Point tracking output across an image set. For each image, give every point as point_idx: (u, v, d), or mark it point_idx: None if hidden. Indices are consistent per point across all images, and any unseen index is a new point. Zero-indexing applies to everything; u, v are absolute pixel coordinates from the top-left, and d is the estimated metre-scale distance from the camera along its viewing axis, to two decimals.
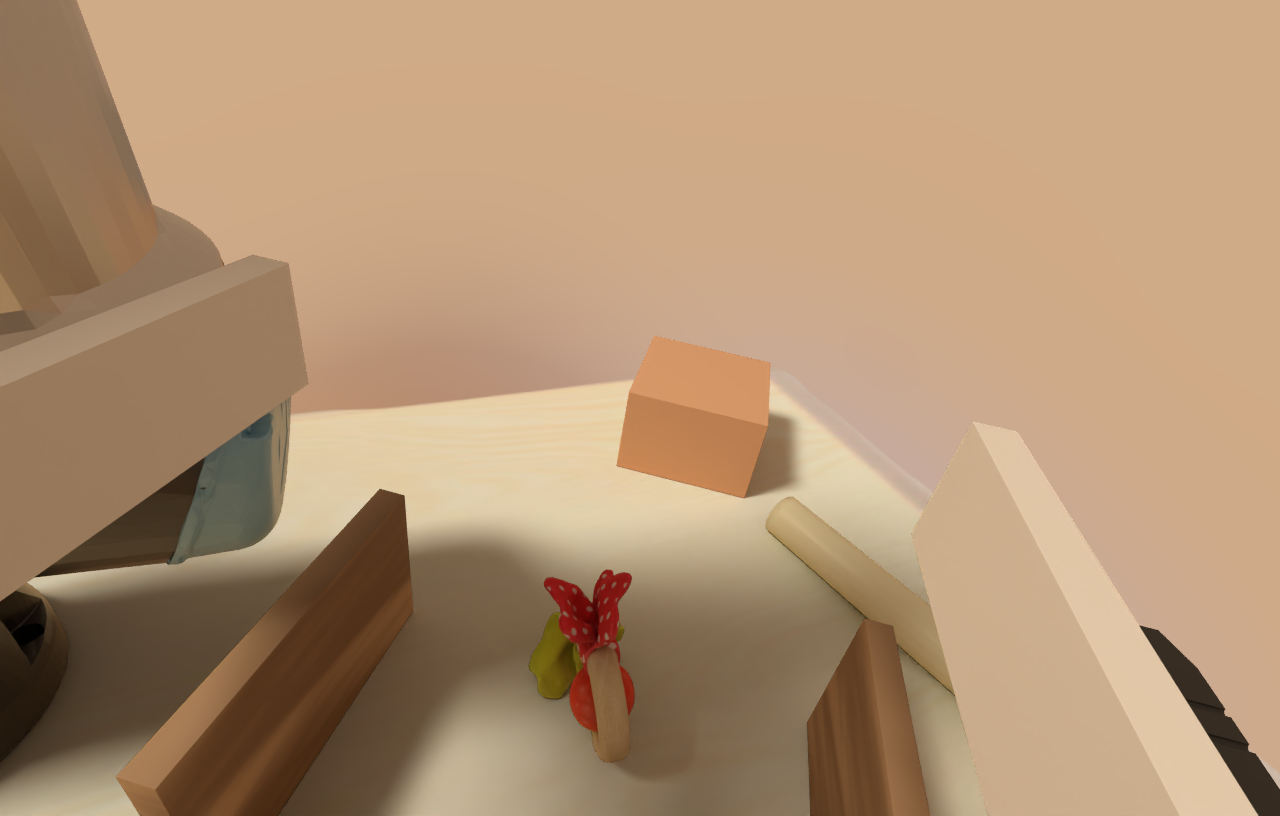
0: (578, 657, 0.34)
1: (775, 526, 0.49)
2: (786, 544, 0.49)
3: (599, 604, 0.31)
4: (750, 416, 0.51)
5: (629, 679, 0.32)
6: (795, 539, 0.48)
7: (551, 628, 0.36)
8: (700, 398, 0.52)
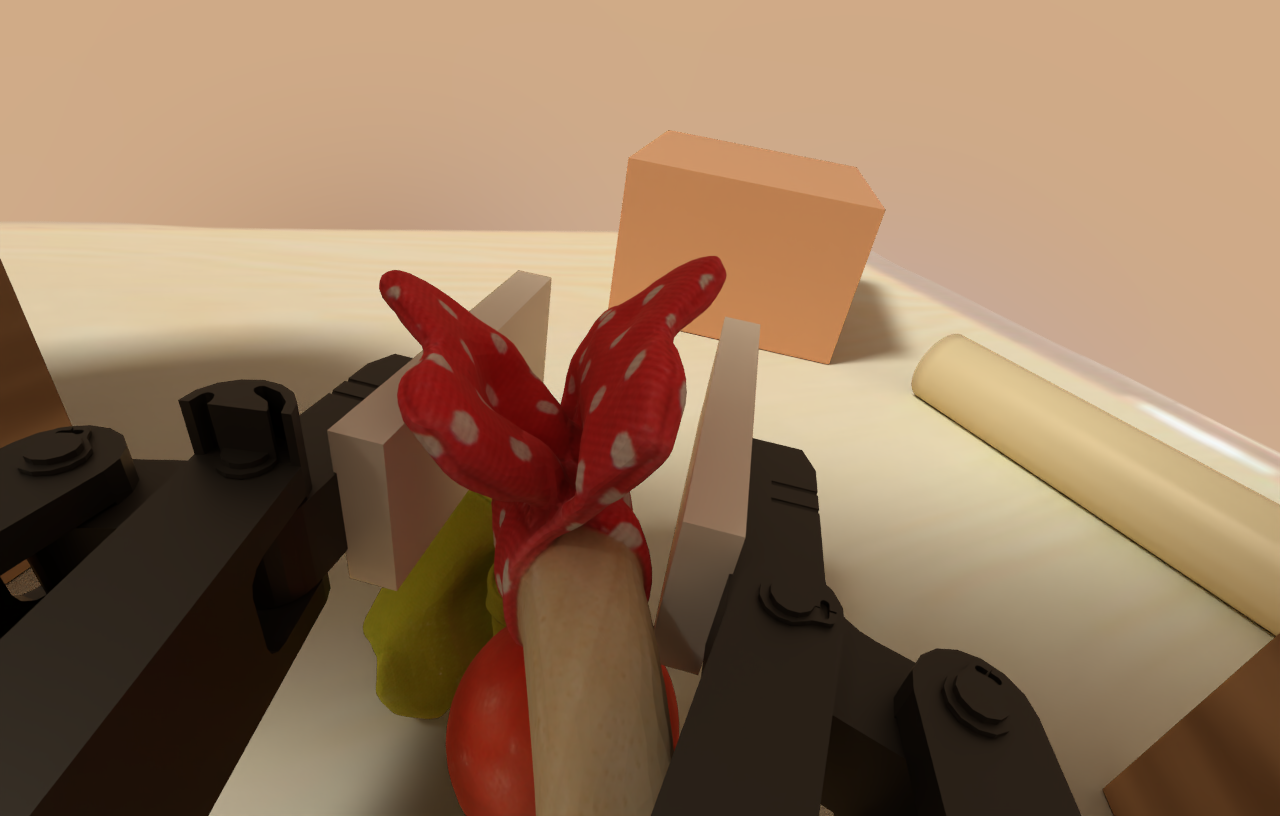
0: (499, 599, 0.11)
1: (932, 377, 0.28)
2: (951, 409, 0.27)
3: (589, 367, 0.08)
4: (849, 199, 0.28)
5: (666, 675, 0.09)
6: (973, 394, 0.26)
7: None
8: (755, 176, 0.29)
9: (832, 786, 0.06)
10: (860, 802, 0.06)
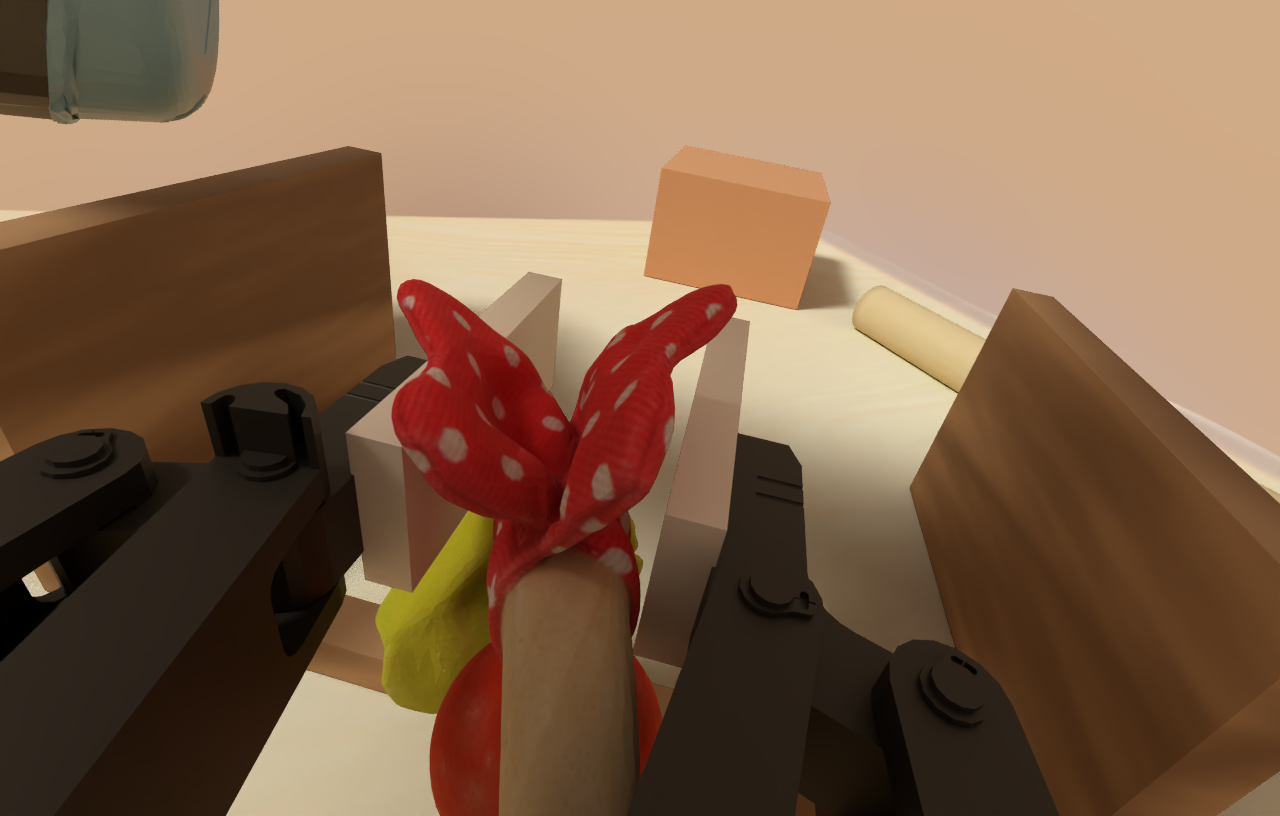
0: None
1: (864, 313, 0.42)
2: (876, 333, 0.42)
3: (591, 389, 0.08)
4: (808, 195, 0.42)
5: (654, 703, 0.09)
6: (888, 322, 0.41)
7: None
8: (746, 180, 0.43)
9: (811, 777, 0.06)
10: (838, 792, 0.06)
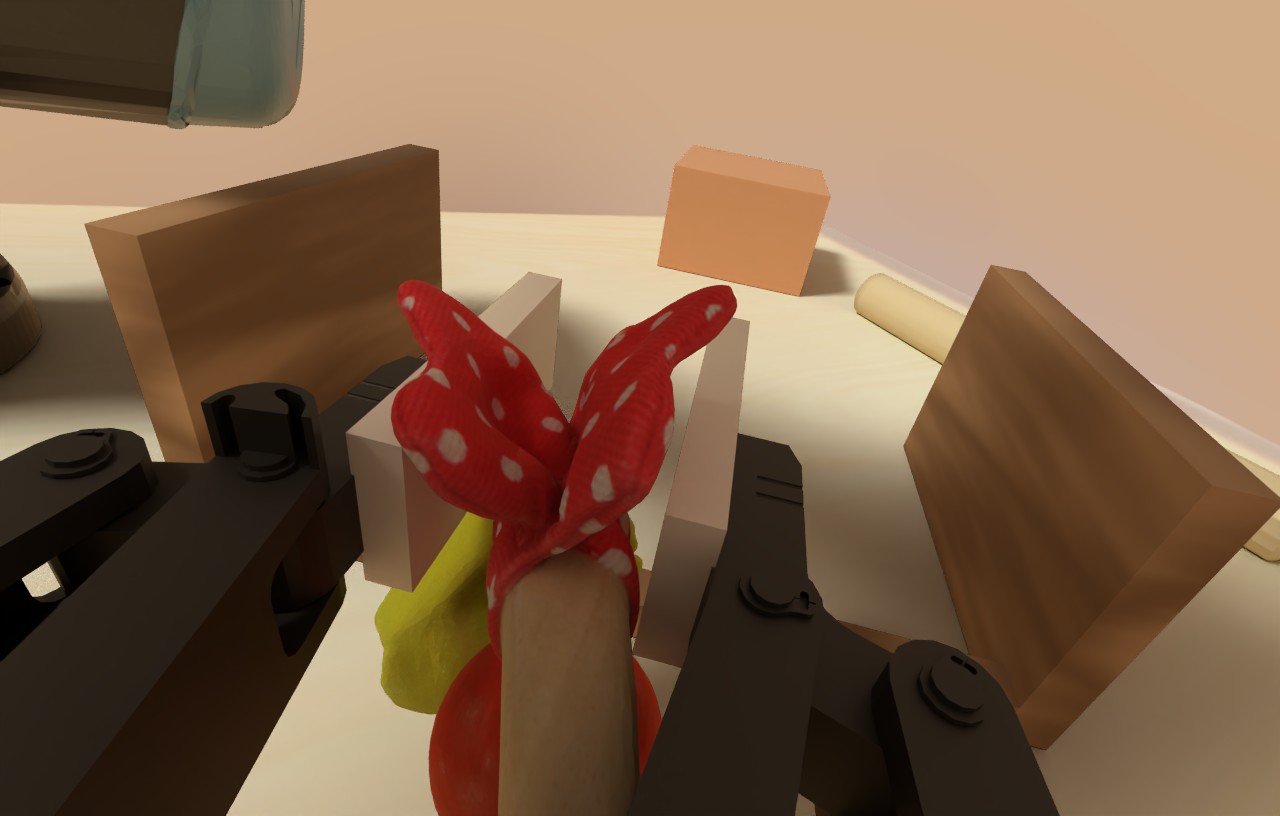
0: None
1: (865, 298, 0.46)
2: (875, 317, 0.46)
3: (591, 390, 0.08)
4: (809, 190, 0.46)
5: (653, 704, 0.09)
6: (886, 306, 0.44)
7: None
8: (752, 176, 0.47)
9: (812, 776, 0.06)
10: (838, 793, 0.06)
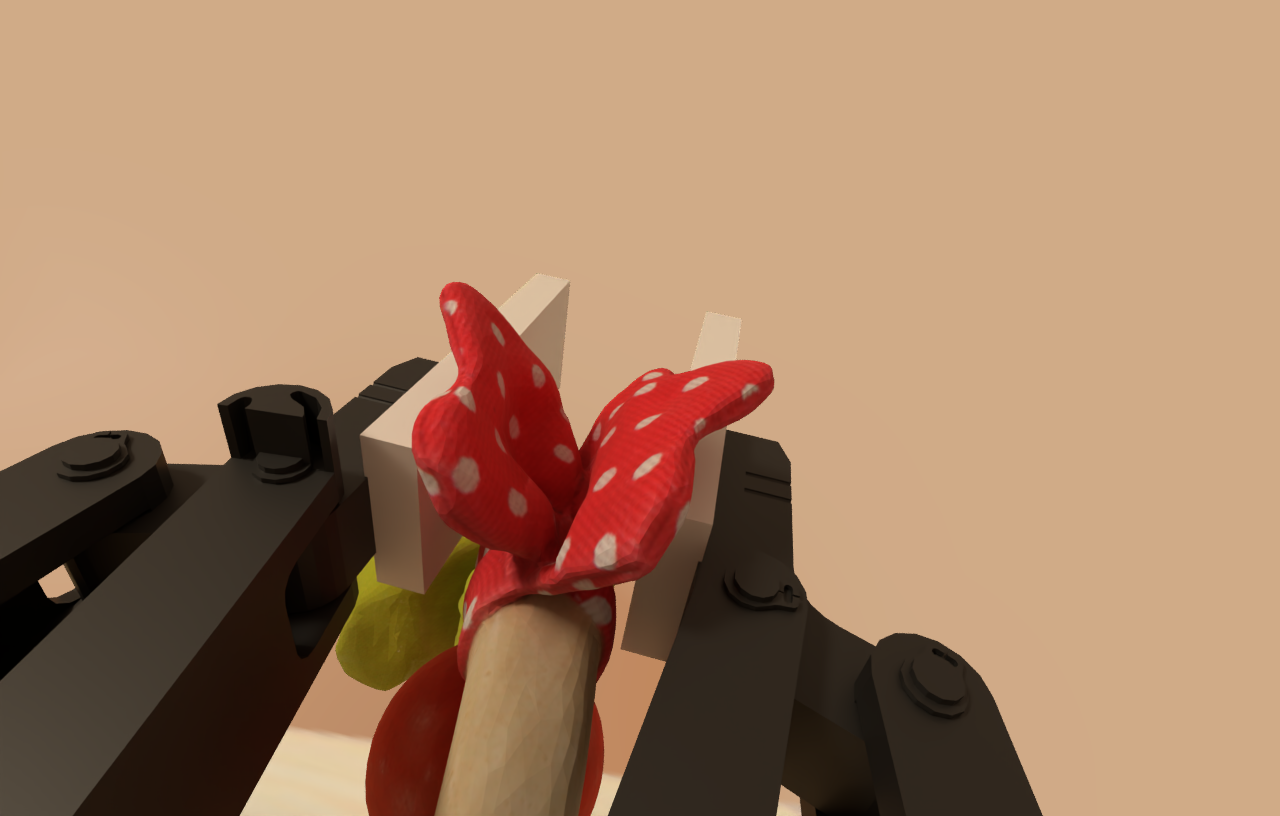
0: None
1: None
2: None
3: (611, 436, 0.08)
4: None
5: (599, 745, 0.09)
6: None
7: None
8: None
9: (795, 768, 0.06)
10: (821, 785, 0.06)
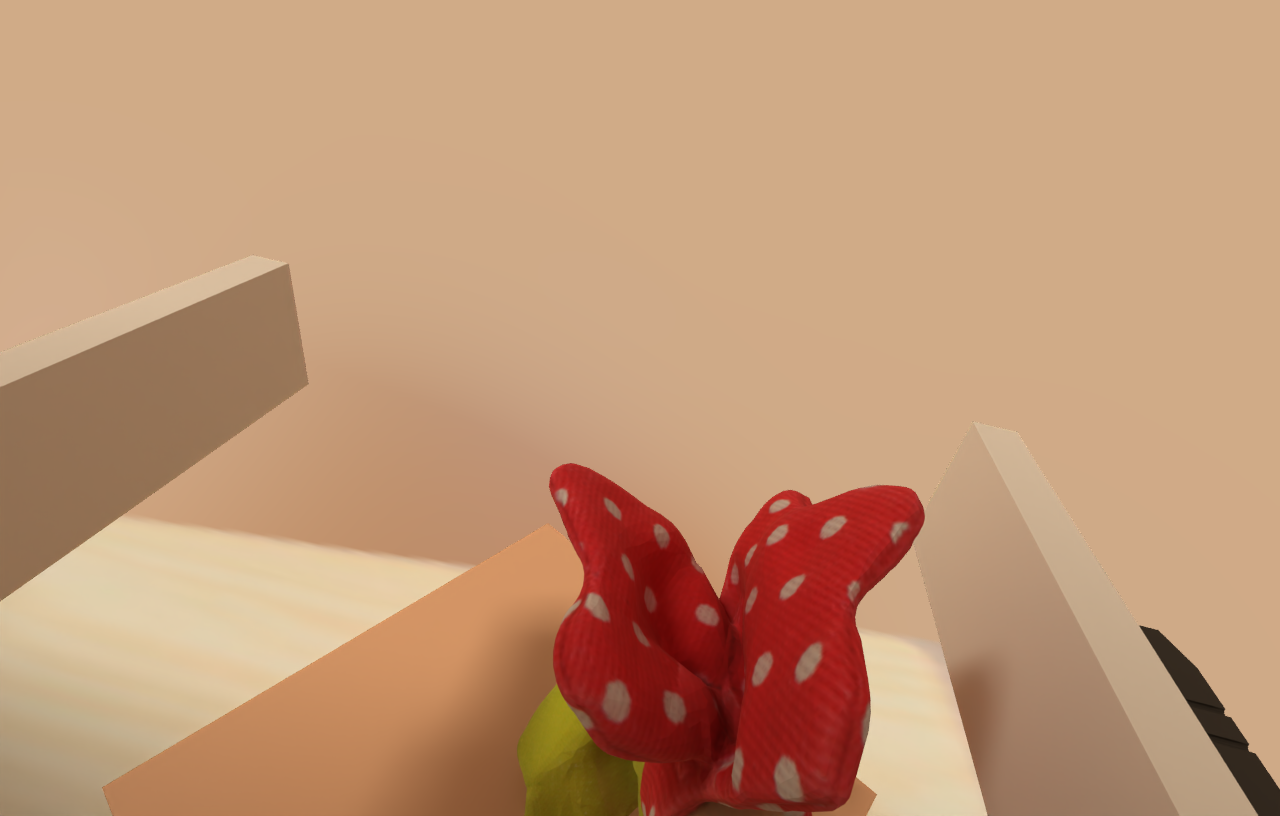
0: None
1: None
2: None
3: (755, 601, 0.07)
4: None
5: None
6: None
7: None
8: None
9: None
10: None
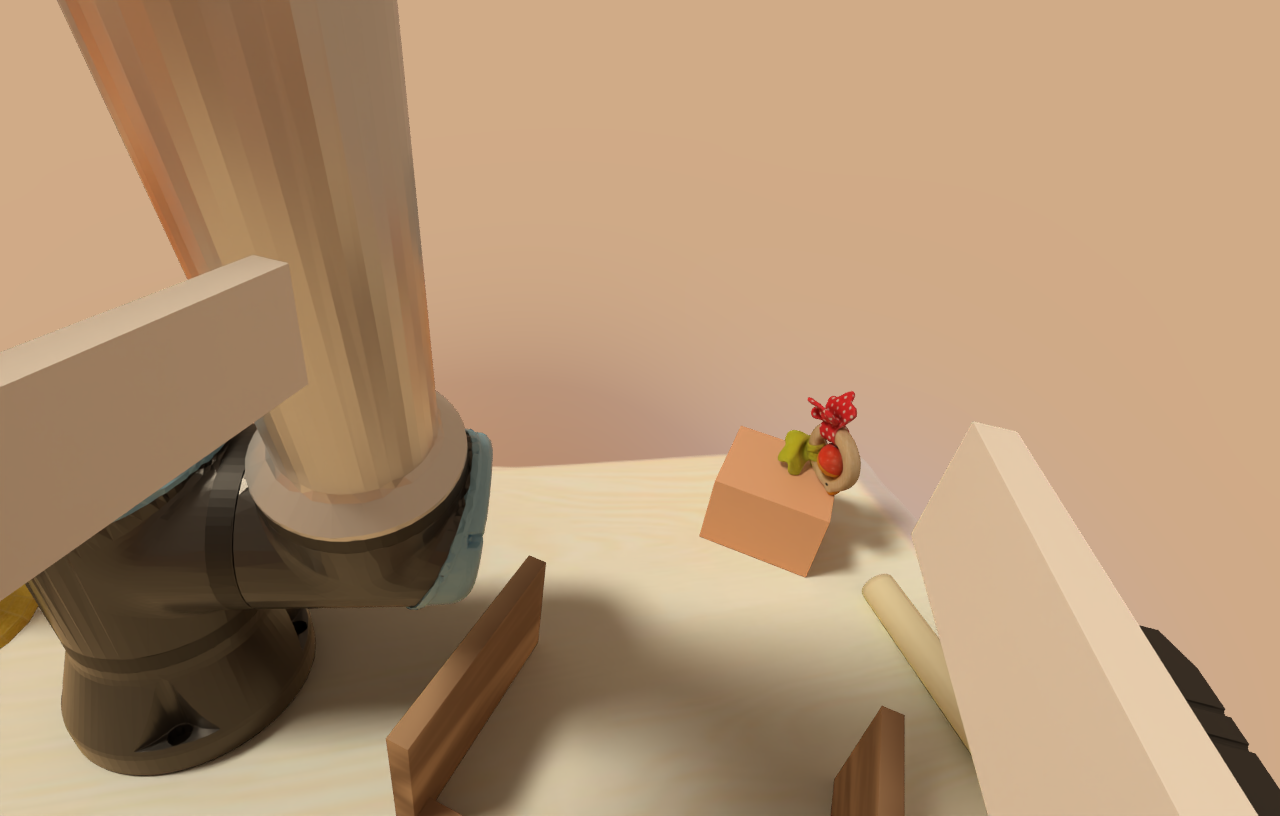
0: (813, 447, 0.64)
1: (868, 594, 0.61)
2: (874, 610, 0.60)
3: (838, 407, 0.60)
4: (815, 511, 0.60)
5: None
6: (881, 608, 0.59)
7: (791, 438, 0.65)
8: (774, 491, 0.62)
9: None
10: None
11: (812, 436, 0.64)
